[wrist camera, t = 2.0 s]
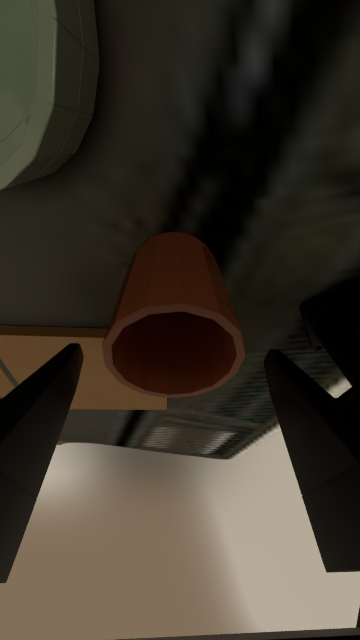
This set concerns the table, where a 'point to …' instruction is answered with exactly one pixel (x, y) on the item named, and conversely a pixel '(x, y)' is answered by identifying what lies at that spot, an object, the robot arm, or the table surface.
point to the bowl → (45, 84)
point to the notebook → (95, 379)
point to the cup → (173, 321)
